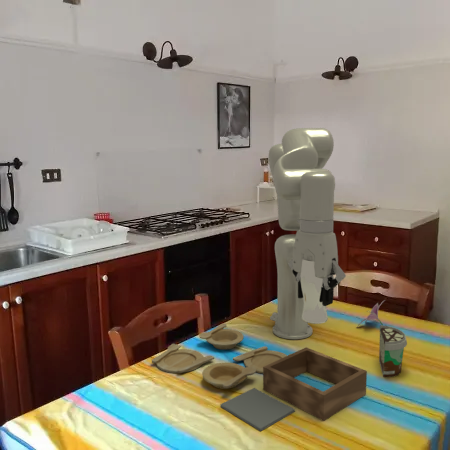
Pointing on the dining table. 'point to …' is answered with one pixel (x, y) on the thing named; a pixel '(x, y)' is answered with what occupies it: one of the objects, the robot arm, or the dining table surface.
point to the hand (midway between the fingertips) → (315, 300)
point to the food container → (391, 350)
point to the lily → (373, 314)
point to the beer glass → (312, 294)
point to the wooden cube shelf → (310, 396)
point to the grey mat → (257, 409)
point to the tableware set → (219, 372)
